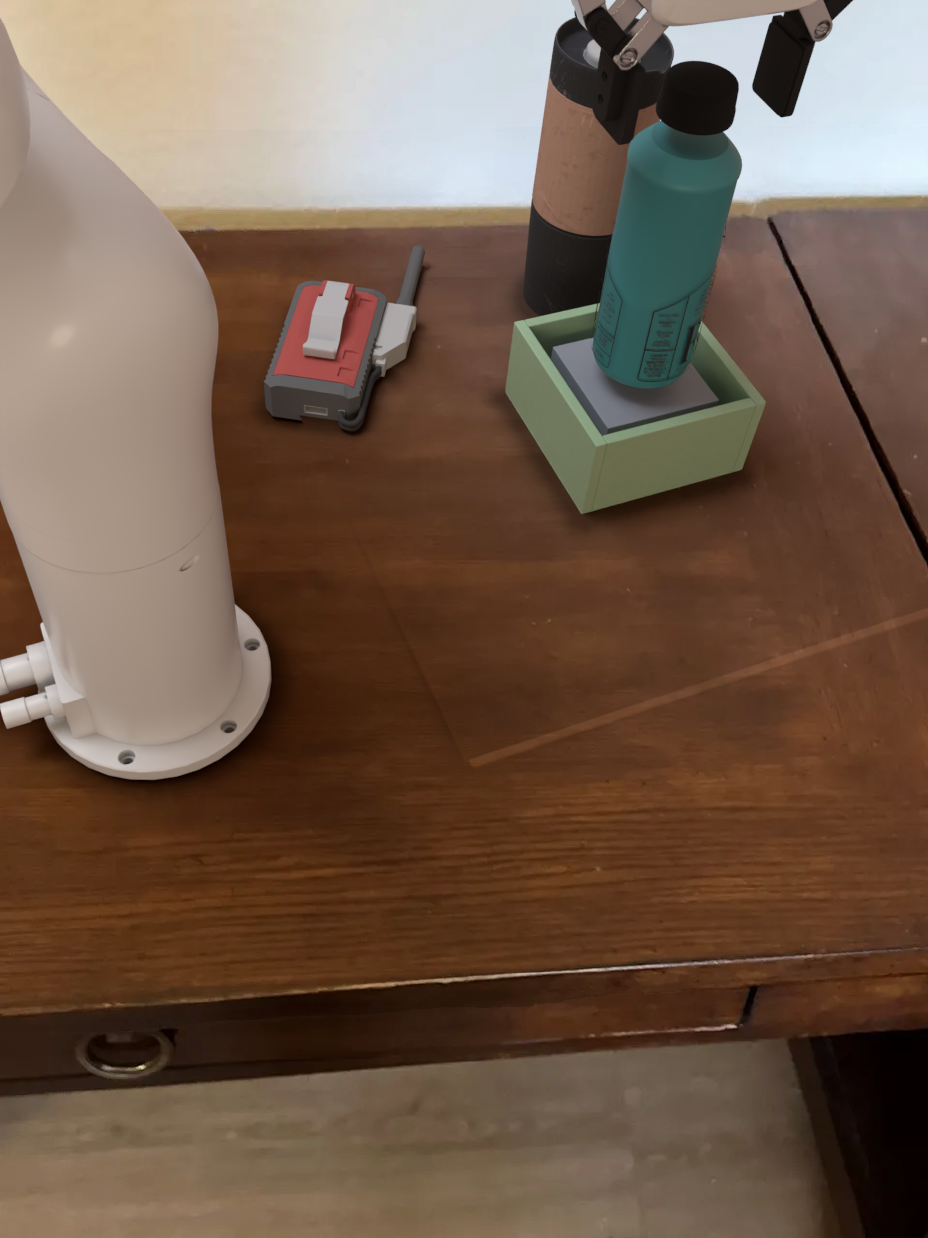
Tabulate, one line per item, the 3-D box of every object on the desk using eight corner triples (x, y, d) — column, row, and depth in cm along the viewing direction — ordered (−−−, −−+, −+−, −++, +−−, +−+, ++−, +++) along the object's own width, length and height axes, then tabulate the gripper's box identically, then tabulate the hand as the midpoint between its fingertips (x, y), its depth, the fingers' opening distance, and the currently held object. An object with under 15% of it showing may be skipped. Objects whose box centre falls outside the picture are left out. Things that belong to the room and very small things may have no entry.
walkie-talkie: (387, 448, 80) (432, 265, 92) (388, 398, 77) (435, 214, 89) (256, 429, 81) (319, 248, 93) (252, 379, 77) (317, 197, 89)
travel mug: (505, 278, 92) (536, 16, 76) (598, 265, 94) (647, 6, 78) (538, 343, 88) (578, 80, 72) (635, 328, 90) (695, 68, 74)
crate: (579, 522, 78) (596, 446, 72) (503, 399, 84) (513, 321, 79) (739, 477, 81) (766, 401, 76) (654, 363, 88) (674, 285, 82)
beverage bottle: (681, 417, 76) (766, 120, 60) (576, 397, 76) (634, 97, 60) (690, 351, 80) (773, 55, 64) (590, 332, 80) (648, 33, 64)
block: (595, 484, 79) (608, 428, 75) (543, 403, 83) (552, 346, 79) (701, 455, 81) (719, 400, 77) (645, 378, 85) (659, 321, 81)
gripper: (904, -309, 55) (792, 59, 68) (561, -293, 50) (514, 102, 63) (1008, -248, 51) (868, 130, 64) (648, -223, 46) (578, 182, 59)
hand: (693, 116), depth 64 cm, fingers open, 9 cm apart
